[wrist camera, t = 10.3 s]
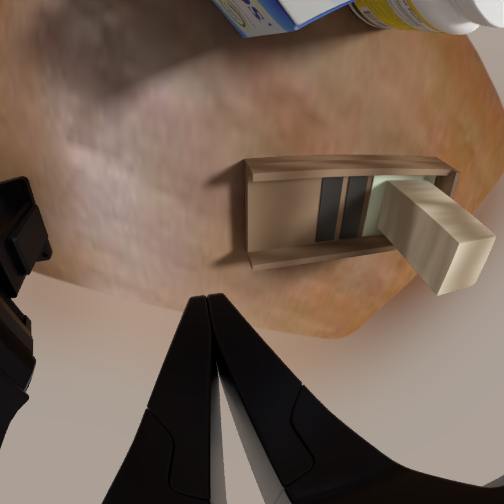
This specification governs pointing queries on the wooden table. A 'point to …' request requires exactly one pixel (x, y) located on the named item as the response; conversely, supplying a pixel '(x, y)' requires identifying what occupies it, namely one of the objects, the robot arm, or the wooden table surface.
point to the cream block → (434, 234)
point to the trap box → (325, 204)
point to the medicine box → (275, 14)
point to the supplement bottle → (431, 14)
